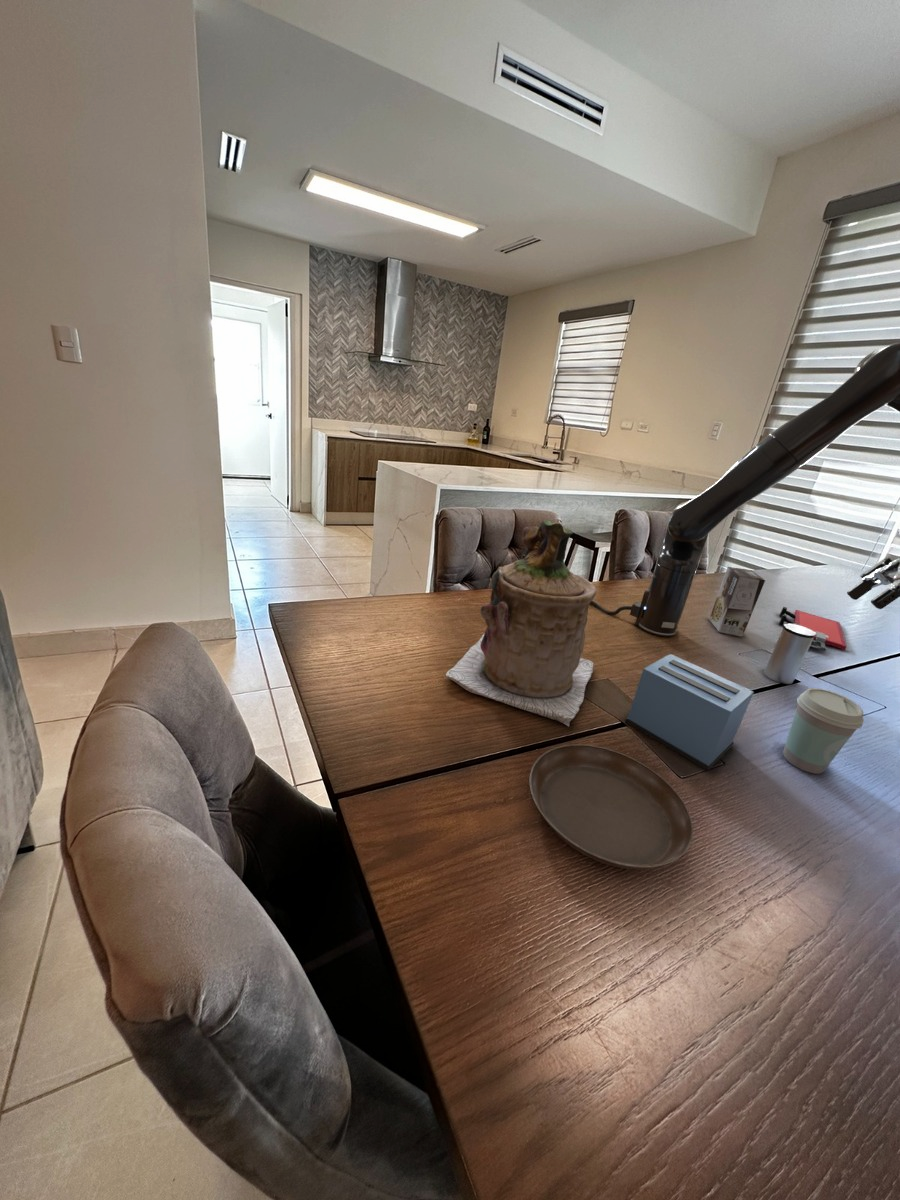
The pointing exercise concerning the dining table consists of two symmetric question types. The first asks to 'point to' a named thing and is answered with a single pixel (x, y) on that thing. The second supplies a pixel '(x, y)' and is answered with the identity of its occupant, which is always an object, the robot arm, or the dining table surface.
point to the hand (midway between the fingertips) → (862, 601)
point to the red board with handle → (817, 628)
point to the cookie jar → (533, 632)
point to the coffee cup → (820, 729)
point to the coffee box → (736, 600)
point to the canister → (789, 653)
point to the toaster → (688, 709)
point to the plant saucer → (610, 807)
